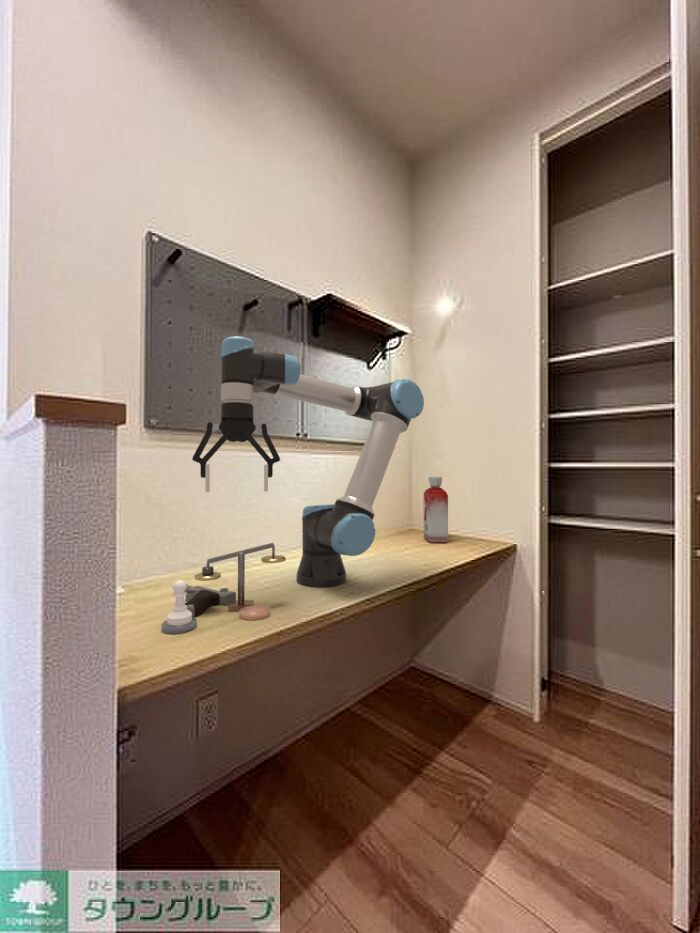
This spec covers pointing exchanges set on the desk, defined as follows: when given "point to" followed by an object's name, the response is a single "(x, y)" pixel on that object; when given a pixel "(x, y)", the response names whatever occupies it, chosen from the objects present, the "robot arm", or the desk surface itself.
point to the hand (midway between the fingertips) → (237, 491)
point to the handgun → (206, 598)
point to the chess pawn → (179, 606)
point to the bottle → (435, 512)
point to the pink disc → (254, 612)
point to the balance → (211, 575)
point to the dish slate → (179, 627)
